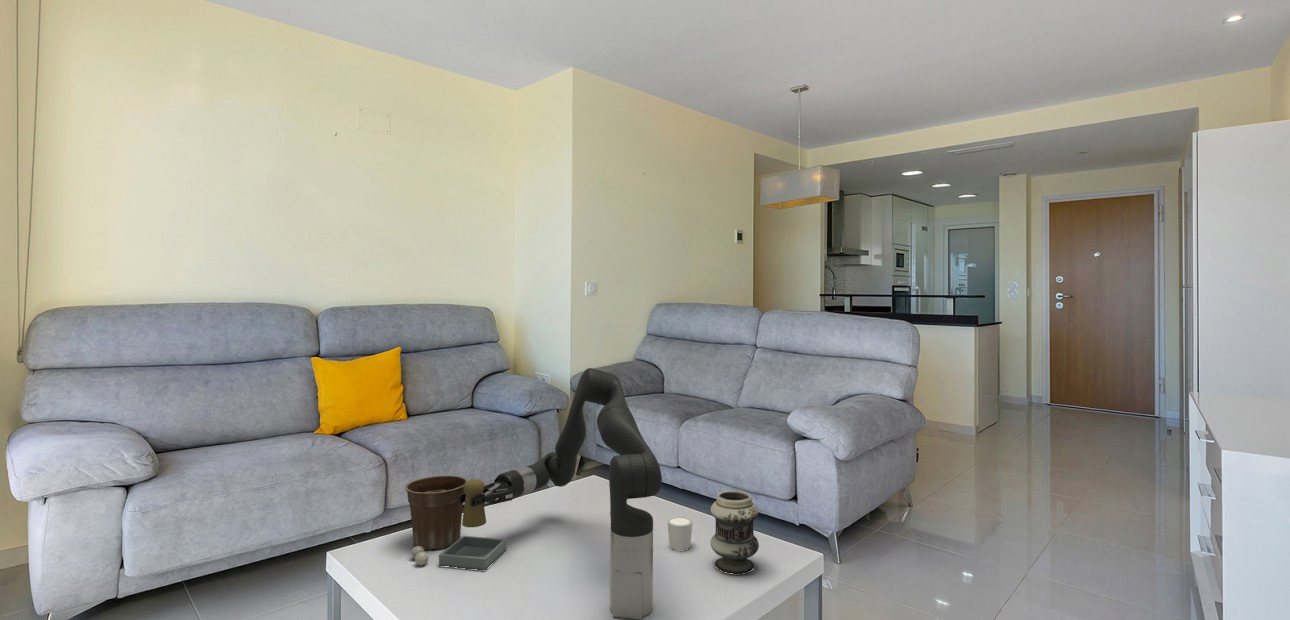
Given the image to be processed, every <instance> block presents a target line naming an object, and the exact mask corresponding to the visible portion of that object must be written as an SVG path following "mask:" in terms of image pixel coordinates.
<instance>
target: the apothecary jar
mask: <svg viewBox="0 0 1290 620" xmlns="http://www.w3.org/2000/svg"><path fill="white" fill-rule="evenodd" d="M710 513H711V515H712V517H714V519H715V532H714V534H713V535H712V537H711V538H710V543H709V544H710V547H711V548H710V549H712V550H713V552H714V553H716V554H717V555H718V556H719V557H720V558H717V560H715V562H714V567H715V566H716V567H717V568H718V569H719V570H721V571H723V572H727V573H733V574H743V573H747V572H749V571H751V570H752V569H753V568H754V569H755V564H754V562H753V561H752V560H751V559H750V558H751V557H753V556H754V555H755V554H757V552H758V550H759V548H760V544H759V541H758V538H757V537H756V536H755V535H754V534H755V532H754V520H756V519H757V517H758V515H759V509H758V507H757V505H756V504H755V503H754V502H753V500H752V495H751V494H750V493H749V492H745V491H743V490H742V491H741V490H724V491H720V492H718V494H717V495H716V501H713V503H712V505H711V507H710ZM716 567H715V568H716ZM719 570H718V571H719ZM721 571H720V572H721ZM723 572H722V573H723ZM743 575H744V574H743Z"/></svg>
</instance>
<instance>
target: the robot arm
mask: <svg viewBox="0 0 1290 620" xmlns="http://www.w3.org/2000/svg"><path fill="white" fill-rule="evenodd" d="M586 402H588V403H593V404H596V405H599V406H600V405H601V406H602V408H601V409H600V410H599V413H598V415H597V418H596V425H597V429H598V433H599V435H600V437H601V440H602V441H603V443H604V444H605V445H606V446H607V448H609V449H610V450H612V451H613V452H615V453H616V454H618V455H614V456H612V458H611V460H610V462H609V467H608V480H609V481H608V483H609V485H608V486H609V502H610V503H609V505H610V507H609V508H610V509H609V515H610V516H609V517H610V551H609V552H610V554H609V558H610V567H609V568H610V570H609V571H610V572H609V574H610V577H609V581H610V582H609V590H610V591H609V593H610V599H609V600H610V601H609V602H610V603H609V608H610V612H611V613H612V617H614V618H623V619H633V620H642V619H643V617H645V616H648V615H649V614H651V612H652V611H653V608H654V607H653V606H654V605H653V604H654V603H653V602H654V589H653V588H654V582H653V581H654V579H653V578H654V566H653V565H654V518H653V515H652V514H651V513H649V512H648V511H646V510H644V509H642V508H637V507H634V506H631V505H629V504H628V502H627V501H628V500H629V499H630V500H631V499H644V498H650V497H653V496H656V495H658V494H659V492H660V491H661V488H662V485H663V483H662V482H663V477H662V470H661V468H660V464H659V462H658V459H657V458H656V456H655V454H654V452H653V451H652V450H651V448H650V446H649V445H648V444H647V442H646V441H645V439H644V437H643V436H642V434H641V433H642V432H641V431H640V429H639V426H638V425H637V422H636V420H635V418H634V415H633V414H632V411H631V410H630V407H629V405H628V403H627V401H626V398H625V395H624V391H623V386H622V384H621V380H620V379H619V377H618V376H617V375H616V374H615V373H612V372H607V371H604V370H602V369H597V368H592V367H591V368H590V367H588V368H586V369H585V370H583V372H582V374H581V376H580V378H579V381H578V383H577V386H576V389H575V392H574V396H573V398H572V401H571V405H570V407H569V411H568V416H567V418H566V421H565V424H564V426H563V429H562V430H561V433H560V435H559V437H558V440H557V442H556V443H555V446H554V447H555V448H554V450H555V451H552V452H548V453H547V454H546V455H544V456H543V457H542V458H541V459H539V460H538V461H536V462H535V463H533V464H530V465H527V466H524V467H518V468H514V469H511V470H508V471H505V472H502V473H499V474H498V475H497V476H496V477H495V478H494V481H489V482H486V483H484V491H483V492H482V494H481V495H478V496H475V497H472V498H470V506H471V507H474V506H477V505H480V504H483V503H484V505H486V504H489V503H490V505H495V504H496V505H497V504H501V503H506V502H511V501H513V500H515V499H517V498H520V497H522V496H523V497H524V496H525V495H527V494H530V493H531V492H533V491H536V490H538V489H541V488H543V487H545V486H546V485H548V484H549V481H551V482H552V483H553V485H554V486H556V487H559V488H561V487H565V486H566V485H568V484H570V482H571V481H572V480H573V478H574V475H575V472H576V468H577V460H578V454H579V453H580V450H581V448H582V447H583V444H584V442H585V440H586V436H587V426H586V421H585V418H584V405H585V404H586ZM465 496H466V494H465V493H462V494H459V495H458V502H459V503H463V504H464V503H465Z"/></svg>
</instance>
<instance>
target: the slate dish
mask: <svg viewBox="0 0 1290 620" xmlns="http://www.w3.org/2000/svg"><path fill="white" fill-rule="evenodd" d="M505 551H506V552H507V539H506V538H505V539H504V538H496V537H483V536H480V537H479V536H470V535H462V536H460V539H458V540H457V541H456V542H455V543H453V544H450V545H449V546H448V547H446V548H445V549H444V550H443V551H442V552H441V553H440V554H438V567H439V566H449V567H457V568H465V569H477V570H486V569H487V568H488V567H489V566H490V565H491V564H492V563H493V562H494V563H495V562H496V561H498V559H499V558H500V557H502V556H503V555H504V554H505V553H506V552H505ZM504 552H505V553H504ZM503 553H504V554H503ZM494 563H493V564H494ZM493 564H492V565H493ZM492 565H491V566H492ZM491 566H490V567H491ZM490 567H489V568H490ZM489 568H488V569H489ZM465 569H464V570H465ZM488 569H487V570H488ZM487 570H486V571H487Z"/></svg>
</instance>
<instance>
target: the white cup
mask: <svg viewBox="0 0 1290 620" xmlns="http://www.w3.org/2000/svg"><path fill="white" fill-rule="evenodd" d="M667 530H668V531H667V532H668V533H667V534H668V543H669V546H668V547H669V549H670V550H672V549H674V550H673V551H675V550H678V551H677V552H680V551H679V550H686V551H688V550H689V549H688V548H690V549H691V544H692V542H691V540H692V533H693V532H692V531H693V520H692V519H690V518H688V517H683V516H676V517H671V518H669V519H667ZM687 549H688V550H687Z"/></svg>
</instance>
